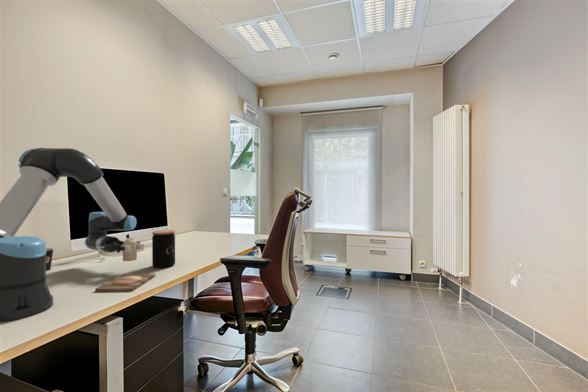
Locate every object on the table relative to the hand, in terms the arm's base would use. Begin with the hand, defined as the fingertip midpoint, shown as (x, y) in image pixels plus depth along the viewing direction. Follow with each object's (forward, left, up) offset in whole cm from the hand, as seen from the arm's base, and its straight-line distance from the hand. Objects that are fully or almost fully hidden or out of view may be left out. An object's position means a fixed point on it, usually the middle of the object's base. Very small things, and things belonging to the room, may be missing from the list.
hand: (136, 247), depth 122 cm
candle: (+2, +4, -6) cm, 8 cm away
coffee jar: (+15, -6, -13) cm, 21 cm away
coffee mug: (+8, +51, -13) cm, 54 cm away
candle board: (-12, -3, -13) cm, 17 cm away
